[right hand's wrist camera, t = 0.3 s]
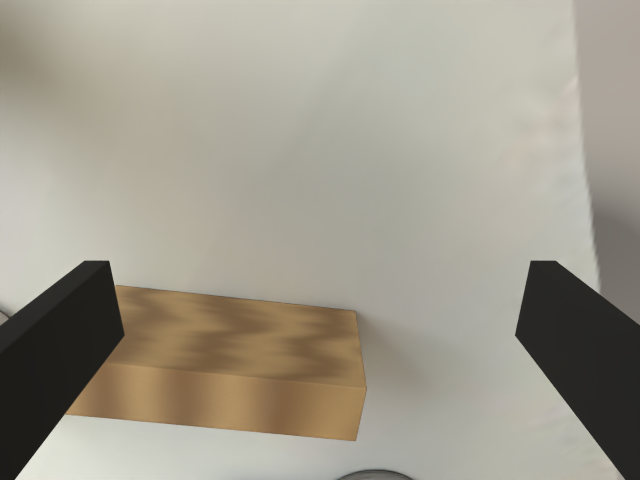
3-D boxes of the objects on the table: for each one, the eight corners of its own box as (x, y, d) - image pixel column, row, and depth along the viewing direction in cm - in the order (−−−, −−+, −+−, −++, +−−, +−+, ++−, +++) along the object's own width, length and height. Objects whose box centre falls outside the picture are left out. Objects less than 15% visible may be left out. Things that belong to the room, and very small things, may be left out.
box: (355, 310, 44) (367, 388, 33) (347, 354, 46) (355, 441, 35) (116, 284, 43) (44, 356, 32) (119, 331, 45) (54, 413, 34)
